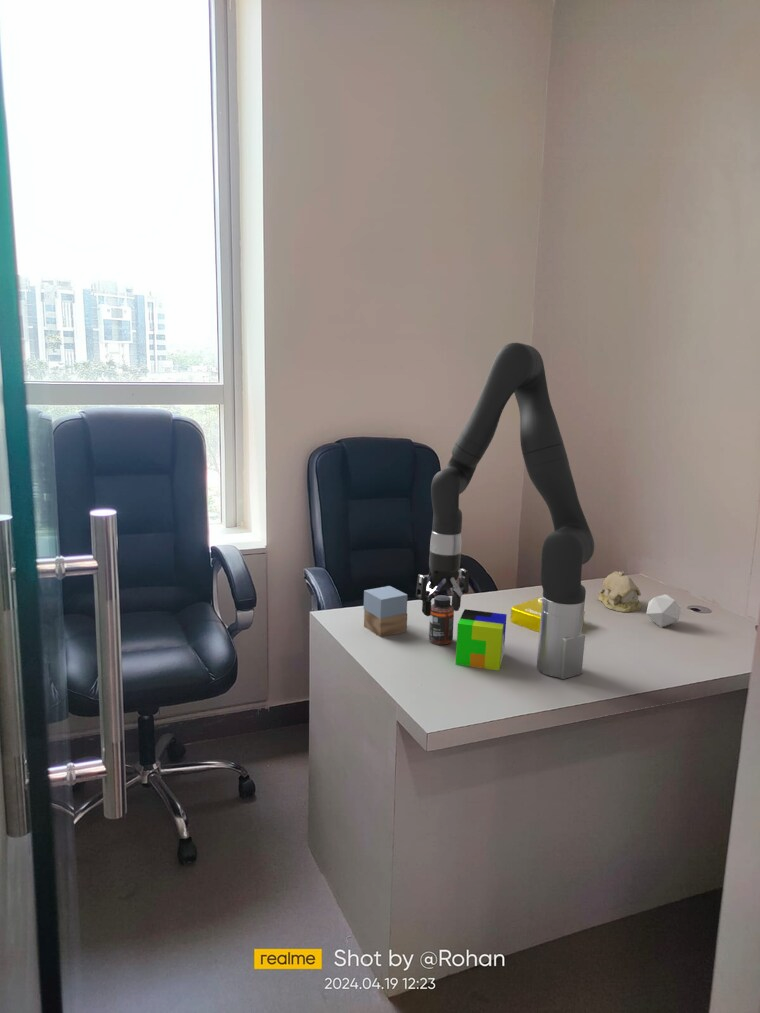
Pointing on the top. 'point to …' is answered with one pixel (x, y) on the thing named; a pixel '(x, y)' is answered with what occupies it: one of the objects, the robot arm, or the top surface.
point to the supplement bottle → (441, 621)
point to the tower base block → (385, 624)
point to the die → (663, 610)
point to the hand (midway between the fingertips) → (441, 612)
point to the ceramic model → (620, 593)
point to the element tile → (528, 614)
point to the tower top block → (385, 602)
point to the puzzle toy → (481, 639)
